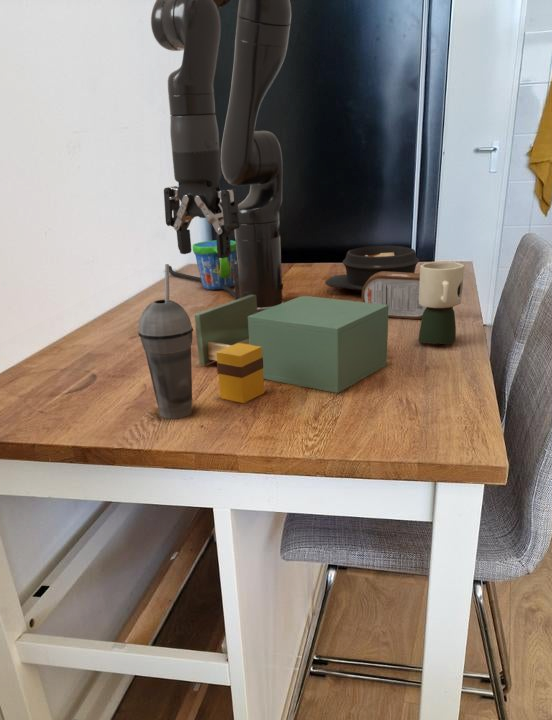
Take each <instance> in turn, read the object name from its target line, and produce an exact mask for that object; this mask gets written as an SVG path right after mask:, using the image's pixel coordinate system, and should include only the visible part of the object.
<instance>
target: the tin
mask: <svg viewBox="0 0 552 720" xmlns="http://www.w3.org/2000/svg"><path fill="white" fill-rule="evenodd" d="M419 283H420V272H414V273H403V272H385V271H383V272H378V273H375V274H374V275H372V276H371V277H370V278H369V279H368V281H367V282H366V283H365V285H364V287H363V289H362V293H361V302H365V303H374V304H383V305H389V309H388V318H392V319H393V318H394V319H404V320H405V319H406V320H422V316H423V312H424V310H425V309H426V308H427V307H424V306H422V305H420V304H419Z"/></svg>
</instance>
